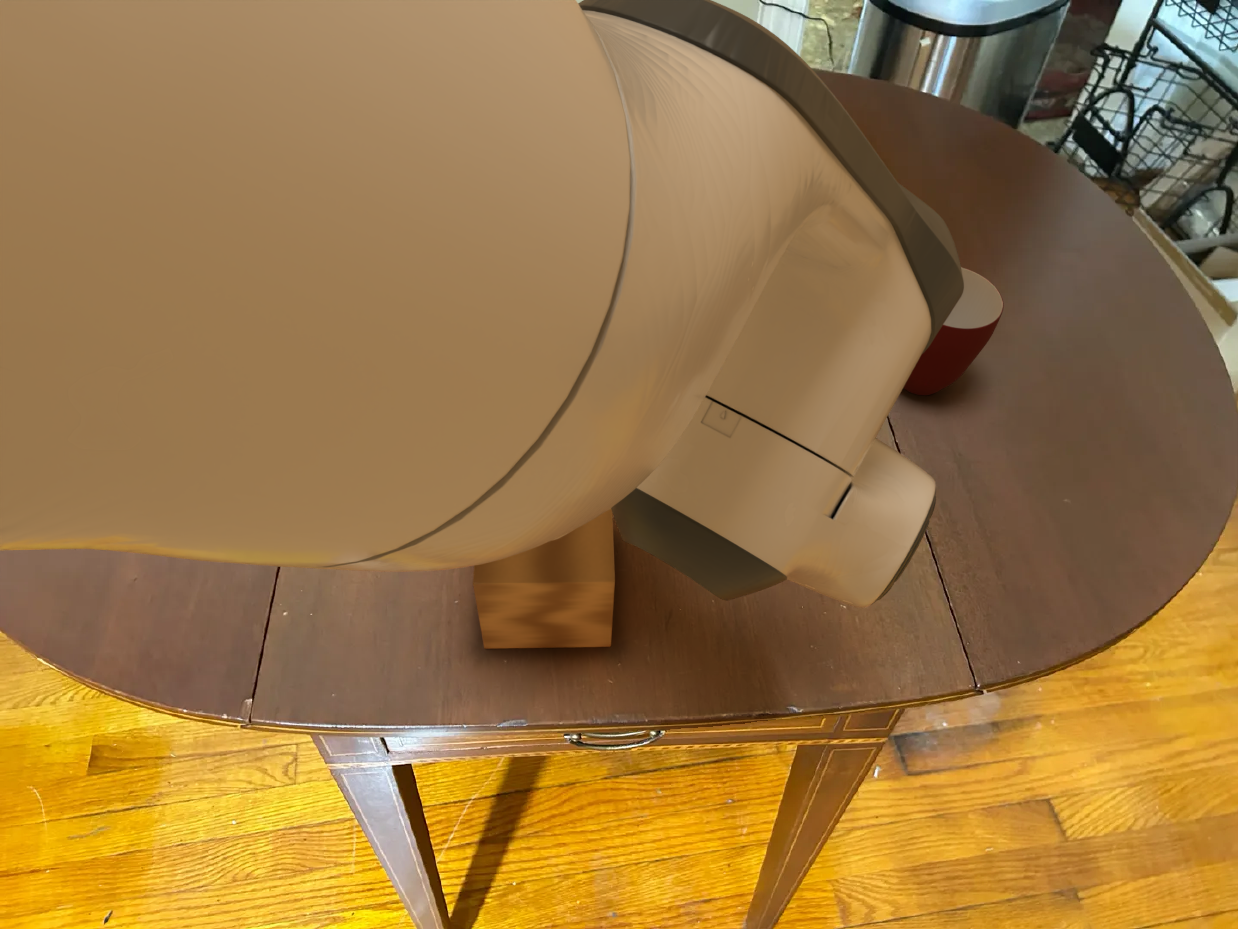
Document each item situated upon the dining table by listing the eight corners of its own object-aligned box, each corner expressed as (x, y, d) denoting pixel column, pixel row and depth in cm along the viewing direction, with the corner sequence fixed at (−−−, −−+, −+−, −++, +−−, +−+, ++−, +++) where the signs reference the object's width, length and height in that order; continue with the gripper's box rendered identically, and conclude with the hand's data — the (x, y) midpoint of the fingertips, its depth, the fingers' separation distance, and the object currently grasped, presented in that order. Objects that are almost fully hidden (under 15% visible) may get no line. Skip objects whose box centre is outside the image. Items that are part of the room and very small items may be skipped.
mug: (842, 396, 81) (870, 312, 73) (850, 335, 86) (878, 250, 78) (962, 421, 79) (1004, 338, 72) (964, 358, 84) (1004, 273, 76)
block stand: (484, 649, 64) (472, 583, 57) (490, 542, 70) (480, 471, 63) (611, 647, 65) (614, 582, 58) (607, 541, 70) (610, 470, 63)
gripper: (741, 264, 53) (552, 180, 58) (523, 490, 42) (312, 365, 47) (728, 343, 58) (555, 260, 63) (529, 564, 47) (337, 443, 52)
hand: (449, 306), depth 55 cm, fingers closed on amber bottle, 5 cm apart
